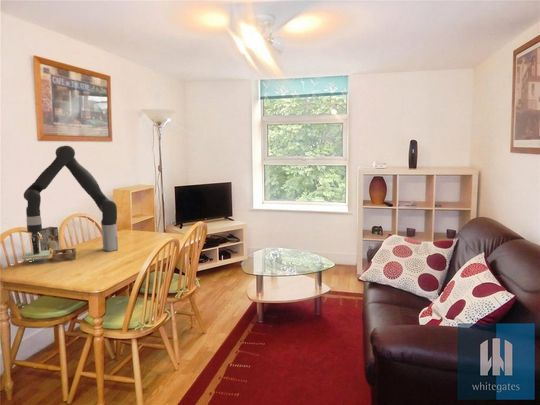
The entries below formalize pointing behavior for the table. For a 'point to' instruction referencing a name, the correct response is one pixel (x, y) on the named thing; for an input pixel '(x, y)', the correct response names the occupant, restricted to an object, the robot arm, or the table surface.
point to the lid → (36, 254)
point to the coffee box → (49, 239)
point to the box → (64, 255)
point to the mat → (37, 261)
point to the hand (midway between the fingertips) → (36, 252)
